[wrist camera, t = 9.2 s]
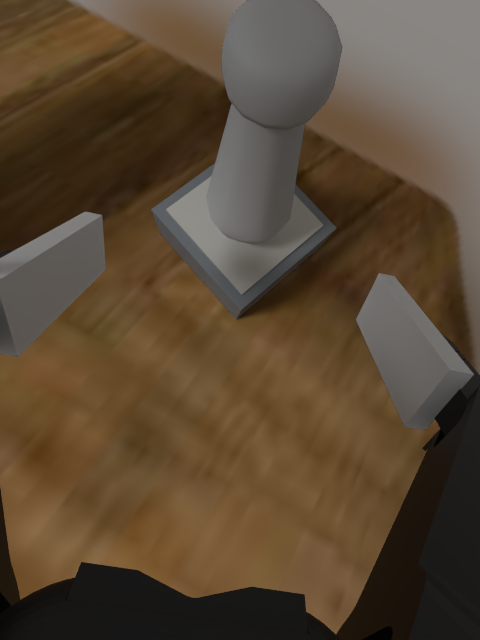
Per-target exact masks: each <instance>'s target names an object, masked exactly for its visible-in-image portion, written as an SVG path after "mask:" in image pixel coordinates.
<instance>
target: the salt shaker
mask: <svg viewBox="0 0 480 640" xmlns="http://www.w3.org/2000/svg"><path fill="white" fill-rule="evenodd" d="M341 52H342V45H341V41H340V38H339V35H338V31H337V28H336V25H335V23H334V21H333V19H332V17H331V16H330V15H329V14H328V13H327V12H326V11H325V10H324V9H323V8H322V6H321V5H320V4H319V3H318V2H317V1H315V0H247V1H246V2H245V3H244V4H242V5H241V6H240V7H239V8H238V9H237V10H236V11H235V12H234V13H233V14H232V15H231V18H230V21H229V25H228V28H227V31H226V34H225V38H224V43H223V48H222V53H221V60H222V61H221V62H222V63H221V66H222V75H223V79H224V83H225V87H226V91H227V95H228V98H229V100H230V102H231V103H232V104H231V107H230V111H229V115H228V118H227V122H226V126H225V129H224V133H223V137H222V140H221V144H220V148H219V151H218V155H217V159H216V162H215V166H214V170H213V173H212V177H211V181H210V184H209V188H208V192H207V195H206V199H207V204H208V209H209V213H210V217H211V220H212V221H213V222H214V224H215V225H216V226H217V227H218V229H219V230H220V231H221V232H222V234H224V235H225V236H226V237H227V238H229V239H233V240H236V241H238V242H244V243H248V244H257V243H260V242H262V241H265V240H267V239H269V238H272V237H274V236H275V235H276V234H277V233H278V232H279V231H280V230H281V229H282V228H283V227H284V225H285V224H286V223H287V222H288V221H289V220H290V215H291V210H292V205H293V199H294V191H295V183H296V176H297V170H298V164H299V158H300V151H301V145H302V139H303V133H304V127H305V123H307V122H308V121H309V120H310V119H311V118H312V117H313V116H314V115H315V113H316V112H317V111H318V110H319V109H320V108H321V107H322V106H323V105H324V104H325V103H326V101H327V99H328V98H329V95H330V94H331V92H332V89H333V87H334V83H335V79H336V75H337V71H338V67H339V61H340V57H341Z"/></svg>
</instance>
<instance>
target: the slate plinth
mask: <svg viewBox="0 0 480 640" xmlns="http://www.w3.org/2000/svg"><path fill="white" fill-rule="evenodd" d="M214 166H215V163H214V164H213V165H212V166H210V167H209V168H207V169H206V170H205V171H203V172H202V173H201V174H199V175H198V176H196V177H195V178H194V179H192V180H191V181H190V182H188V183H187V184H185V185H184V186H183V187H181V188H180V189H179V190H177V191H176V192H174V193H173V194H172V195H170V196H169V197H168V198H166V199H165V200H163V201H162V202H161V203H159V204H158V205H157V206H155V207H154V208H152V209H151V211H152V213H153V216H154V219H155V221H156V224H157V227H158V229H159V232H160V234H161V235H162V236H163V237H164V239H165V240H166V241H167V242H168V243H169V244H170V245H171V246H172V248H173V249H174V250H175V251H176V252H177V253H178V254H179V256H180V257H181V258H182V259H183V260H184V261H185V262H186V263H187V265H188V266H189V267H190V268H191V269H192V270H193V271H194V273H195V274H196V275H197V276H198V277H199V278H200V279H201V280H202V282H203V283H204V284H205V285H206V286H207V287H208V288H209V289H210V291H211V292H212V293H213V294H214V295H215V296H216V297H217V299H218V300H219V301H220V302H221V303H222V304H223V305H224V306H225V308H226V309H227V310H228V311H229V312H230V313H231V314H232V316H233V317H234V318H235V319H236V320H237V319H238V318H239V317H240V316H241V315H242V314H244V313H245V312H246V311H247V310H248V309H249V308H251V307H252V306H253V305H254V304H255V303H256V302H258V301H259V300H260V299H261V298H262V297H263V296H265V295H266V294H267V293H268V292H269V291H270V290H272V289H273V288H274V287H275V286H276V285H277V284H278V283H280V282H281V281H282V280H283V279H284V278H285V277H287V276H288V275H289V274H290V273H291V272H292V271H294V270H295V269H296V268H297V267H298V266H299V265H301V264H302V263H303V262H304V261H305V260H306V259H308V258H309V257H310V256H311V255H312V254H313V253H314V252H316V251H317V250H318V249H319V248H320V247H321V246H322V245H323V243H324V242H325V241H326V240H327V239H328V238H329V237H330V235H331V234H332V233H333V232H334V231H335V230H336V227H335V226H334V225H333V224H332V222H331V221H330V220H329V219H328V218H327V217H326V216H325V215H324V214H323V213H322V212H321V211H320V210H319V209H318V208H317V206H316V205H315V204H314V203H313V202H312V201H311V200H310V199H309V198H308V197H307V196H306V195H305V194H304V193H303V192H302V191H301V189H300V188H299V187H298V186H297V185H296V184H295V191H294V199H293V205H292V210H291V215H290V220H289V221H288V222H287V223H286V224H285V225H284V227H283V228H282V229H281V230H280V231H279V232H278V233H277V234H276V235H275V236H274V237H272V238H269V239H267V240H265V241H262V242H260V243H257V244H248V243H244V242H238V241H236V240H233V239H229V238H227V237H226V236H225V235H224V234H222V232H221V231H220V230H219V229H218V227H217V226H216V225H215V224H214V222H213V221H212V220H211V217H210V213H209V209H208V204H207V199H206V195H207V192H208V188H209V184H210V181H211V177H212V173H213V170H214Z"/></svg>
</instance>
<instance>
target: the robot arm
mask: <svg viewBox="0 0 480 640" xmlns="http://www.w3.org/2000/svg"><path fill="white" fill-rule="evenodd" d="M105 270H106V267H105V251H104V235H103V220H102V215H99V214H94V213H90V212H83V213H82V214H80V215H78V216H76V217H74V218H73V219H71V220H69V221H67V222H65V223H63V224H62V225H60V226H58V227H56V228H54V229H52V230H51V231H49V232H47V233H45V234H43V235H42V236H40V237H38V238H36V239H34V240H32V241H31V242H29V243H27V244H25V245H23V246H21V247H20V248H18V249H16V250H11V251H7V252H3V253H0V354H5V355H10V356H16V357H18V356H19V355H20V354H21V353H22V352H23V351H24V350H26V349H27V348H28V347H29V346H30V345H31V344H32V343H33V342H34V341H35V340H36V339H37V338H38V337H39V336H40V335H41V334H42V333H43V332H44V331H45V330H46V329H47V328H48V327H49V326H50V325H51V324H52V323H53V322H54V321H55V320H56V319H57V318H58V317H59V316H60V315H61V314H62V313H63V312H64V311H65V310H66V309H67V308H68V307H69V306H70V305H71V304H72V303H73V302H74V301H75V300H76V299H77V298H78V297H79V296H80V295H81V294H82V293H83V292H84V291H85V290H86V289H87V288H88V287H89V286H90V285H91V284H92V283H93V282H94V281H95V280H96V279H97V278H98V277H99V276H100V275H101V274H102V273H103V272H104V271H105ZM356 321H357V323H358V326H359V328H360V330H361V332H362V335H363V337H364V339H365V341H366V343H367V346H368V348H369V350H370V352H371V354H372V357H373V359H374V361H375V363H376V365H377V368H378V370H379V372H380V374H381V377H382V379H383V381H384V383H385V385H386V388H387V390H388V392H389V394H390V396H391V399H392V401H393V403H394V405H395V407H396V410H397V412H398V414H399V416H400V419H401V421H402V423H403V425H404V427H409V428H415V429H420V430H426V429H427V428H428V426H429V425H430V424H431V423H432V422H433V421H434V420H435V419H436V421H437V423H438V425H439V427H440V428H441V429H440V430H439V431H438V432H437V433H436V434H435V435H434V436H433V437H432V438H431V439H430V441H429V442H428V443H427V444H426V445H425V446H424V447H423V448H422V449H424V450H425V451H426V450H427V449H428V450H427V452H426V454H425V456H424V459H423V461H422V463H421V465H420V467H419V470H418V472H417V474H416V476H415V478H414V480H413V483H412V485H411V487H410V489H409V491H408V493H407V496H406V498H405V500H404V502H403V504H402V507H401V509H400V511H399V513H398V515H397V517H396V520H395V522H394V524H393V526H392V528H391V530H390V533H389V535H388V537H387V539H386V541H385V544H384V546H383V548H382V550H381V552H380V554H379V557H378V559H377V561H376V563H375V565H374V567H373V570H372V572H371V574H370V576H369V578H368V581H367V583H366V585H365V587H364V589H363V591H362V594H361V596H360V598H359V600H358V602H357V604H356V606H355V608H354V610H353V611H352V613H351V614H350V616H349V617H348V618H347V620H346V621H345V622H344V624H343V625H342V626H341V628H340V629H339V631H338V633H337V634H335V633H334V632H332V631H331V630H330V629H329V628H328V627H327V626H326V625H325V624H323V623H322V622H321V621H319V620H318V619H316V618H315V617H314V616H312V615H311V614H309V613H307V612H306V606H305V595H304V594H297V593H290V592H283V591H277V590H270V589H263V588H256V587H248V588H244V589H239V590H234V591H229V592H224V593H219V594H214V595H209V596H204V597H200V598H191V597H188V596H186V595H184V594H182V593H180V592H178V591H176V590H174V589H172V588H170V587H169V586H167V585H165V584H163V583H161V582H159V581H157V580H155V579H153V578H151V577H150V576H148V575H146V574H144V573H142V572H140V571H138V570H132V569H125V568H118V567H111V566H105V565H98V564H91V563H84V562H81V565H80V567H79V570H78V572H77V574H76V577H75V578H72V579H66V580H63V581H60V582H57V583H54V584H51V585H49V586H46V587H44V588H42V589H40V590H38V591H35V592H33V593H32V594H30V595H28V596H27V597H25V598H23V599H21V600H20V596H19V590H18V586H17V582H16V578H15V575H14V572H13V568H12V565H11V561H10V556H9V549H8V542H7V535H6V527H5V520H4V512H3V505H2V497H1V490H0V640H480V375H479V374H478V373H477V371H476V370H475V369H474V368H473V367H472V365H471V364H470V363H469V362H468V361H466V358H465V357H464V356H463V355H462V353H460V351H459V350H458V349H457V347H456V346H455V345H454V344H453V343H452V342H451V341H450V340H449V339H447V338H446V337H445V336H443V335H442V334H441V333H440V332H439V331H438V329H437V328H436V327H435V326H434V324H433V323H432V322H431V321H430V320H429V318H428V317H427V316H426V315H425V313H424V312H423V311H422V310H421V308H420V307H419V306H418V305H417V304H416V302H415V301H414V300H413V299H412V297H411V296H410V295H409V294H408V292H407V291H406V290H405V289H404V287H403V286H402V285H401V284H400V283H399V281H398V280H397V279H396V278H395V276H391V275H386V274H381V273H379V274H378V276H377V278H376V280H375V282H374V284H373V286H372V288H371V290H370V292H369V294H368V296H367V298H366V300H365V302H364V304H363V306H362V308H361V310H360V312H359V314H358V316H357V318H356Z"/></svg>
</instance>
